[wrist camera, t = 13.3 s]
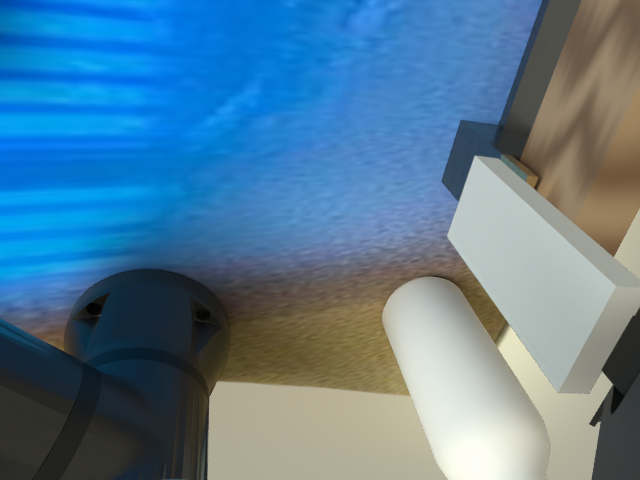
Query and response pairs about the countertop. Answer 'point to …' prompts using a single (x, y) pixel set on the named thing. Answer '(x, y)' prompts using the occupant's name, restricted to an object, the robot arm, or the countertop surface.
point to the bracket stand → (515, 102)
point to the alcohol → (463, 386)
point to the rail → (593, 124)
